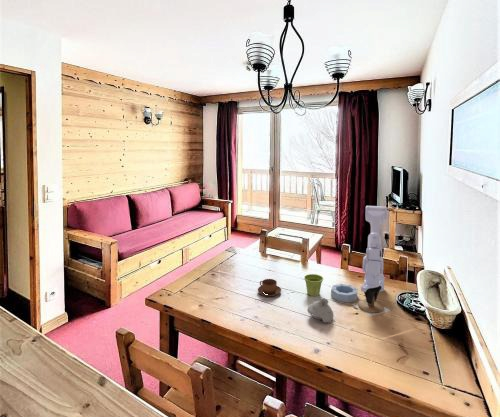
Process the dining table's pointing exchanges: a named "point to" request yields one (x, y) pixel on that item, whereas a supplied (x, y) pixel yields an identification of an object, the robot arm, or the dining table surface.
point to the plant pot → (313, 284)
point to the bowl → (344, 293)
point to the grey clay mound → (321, 310)
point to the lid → (371, 306)
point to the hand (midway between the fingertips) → (371, 301)
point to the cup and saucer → (269, 287)
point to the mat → (371, 313)
